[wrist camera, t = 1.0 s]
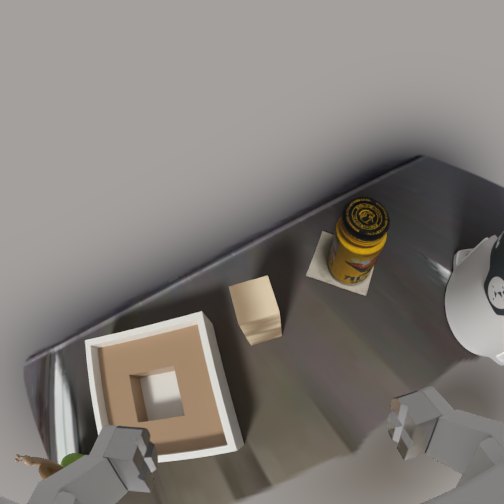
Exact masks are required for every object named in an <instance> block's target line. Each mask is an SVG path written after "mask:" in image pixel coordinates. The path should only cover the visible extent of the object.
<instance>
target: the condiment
mask: <svg viewBox="0 0 504 504" xmlns="http://www.w3.org/2000/svg"><path fill="white" fill-rule="evenodd" d="M389 222H390V220H389V215H388V213H387V211H386V209H385V208H384V206H383V205H381V204H380V203H379V202H377V201H376V200H374V199H371V198H368V197H358V198H355V199H354V200H351V201H350V202H349V203H347V204H346V205H345V207H344V209H343V212H342V215H341V217H340V218H339V219H338V221H337V223H336V227H335V232H334V235H333V234H330V233H327V232H324V231H322V234H321V237H320V240H319V242H318V245H317V248H316V251H315V253H314V256H313V259H312V262H311V264H310V267H309V269H308V272H307V274H306V276H308V277H312V278H315V279H317V280H321V281H324V282H327V283H329V284H332V285H335V286H338V287H341V288H344V289H347V290H350V291H352V292H356V293H359V294H362V295H366V294H367V290H368V287H369V283H370V279H371V276H372V272H373V268H374V264H375V263H376V261H377V259H378V257H379V254H380V252H381V250H382V249H383V247H384V244H385V242H386V238H387V231H388V229H389ZM325 267H326V268H325ZM327 269H328V270H327Z"/></svg>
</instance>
